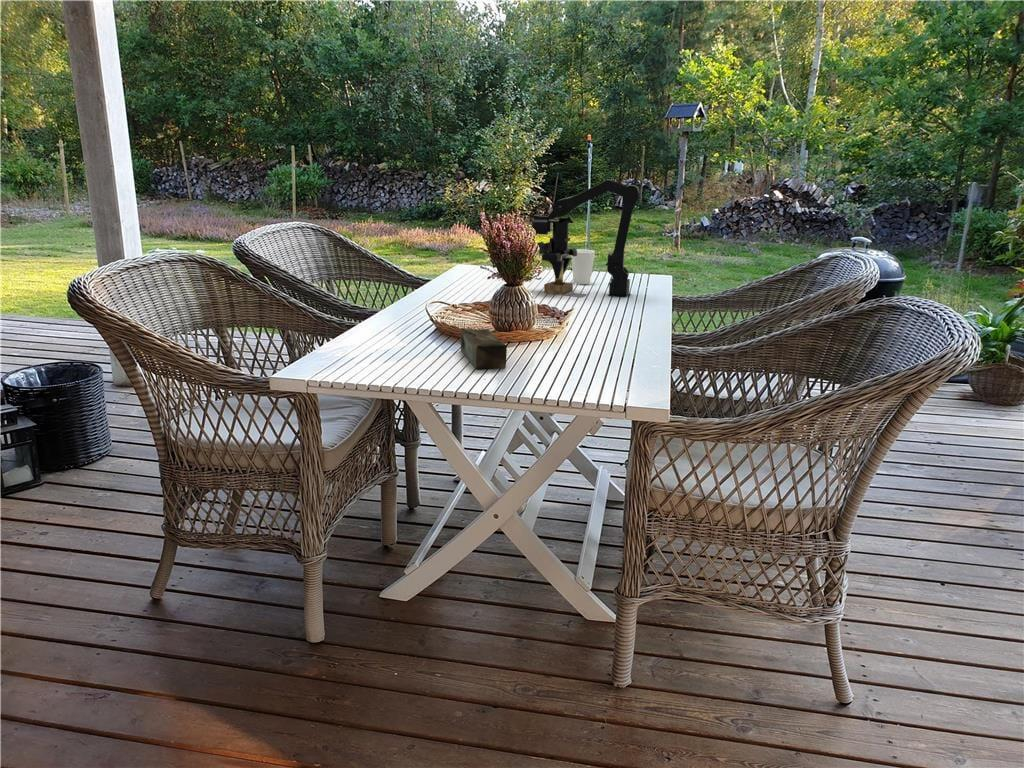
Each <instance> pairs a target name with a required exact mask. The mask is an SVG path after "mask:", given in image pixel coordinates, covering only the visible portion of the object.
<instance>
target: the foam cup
mask: <svg viewBox="0 0 1024 768" xmlns="http://www.w3.org/2000/svg"><path fill="white" fill-rule="evenodd" d="M576 250H577V256H572V255H570V258H572V260H571V268H572V278H573V282H572V283H573V284H574V283H576V284H589V283H591V277H592V273H593V266H594V260H595V256H596V252H595V250H592V249H583V248H582V249H580V248H579V249H577V248H576ZM589 285H590V284H589Z"/></svg>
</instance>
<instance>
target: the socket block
mask: <svg viewBox="0 0 1024 768" xmlns="http://www.w3.org/2000/svg"><path fill="white" fill-rule="evenodd" d="M543 286H544V287H543V290H544V291H543V292H544V294H549V295H550V294H552V295H558V296H564V295H567V294H569V293H574V291H573V290H574V289H573V288H574V282H567V281H566V282H565V281H563V285H555V280H553V281H550V282H547V283H545V284H544V285H543Z"/></svg>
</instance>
